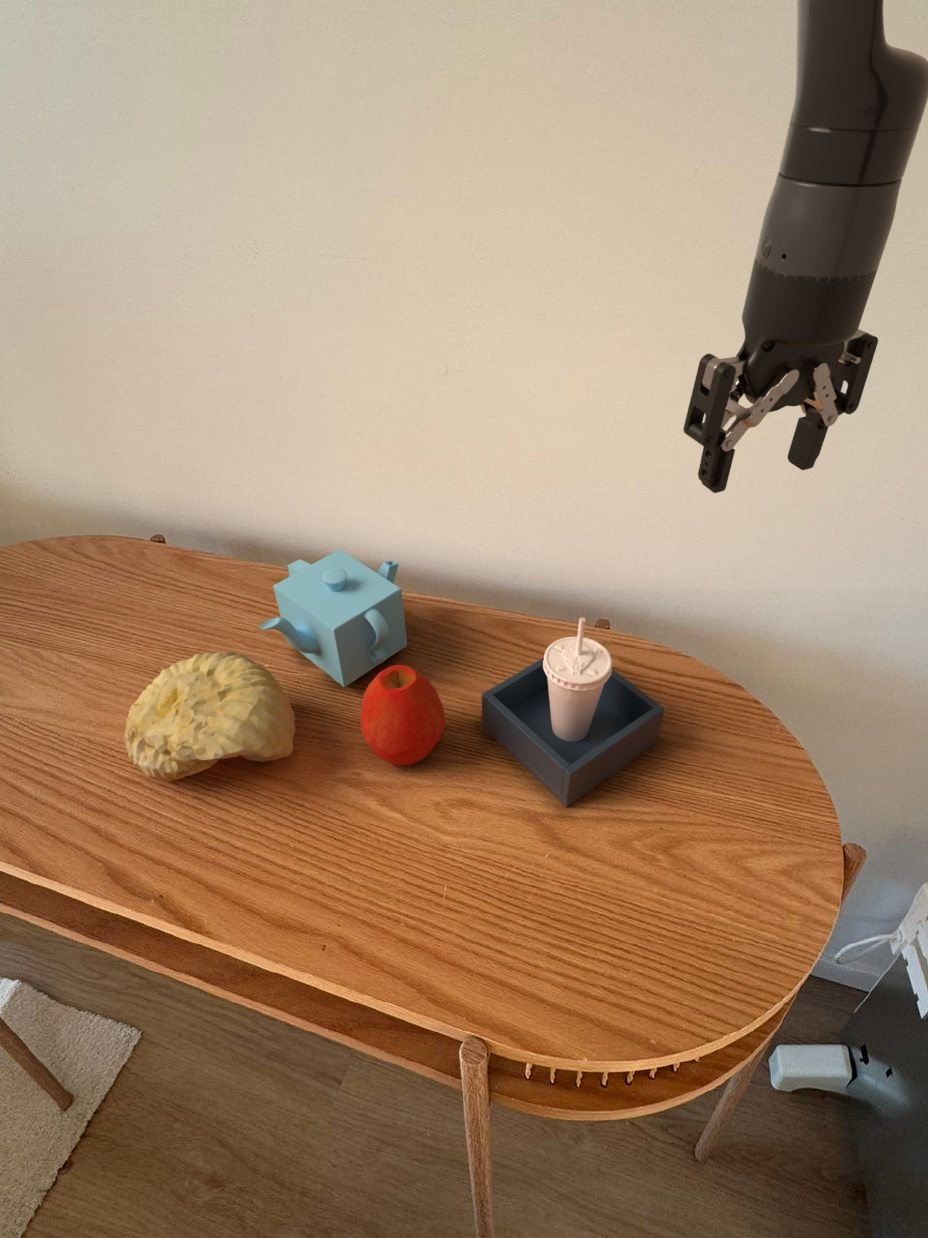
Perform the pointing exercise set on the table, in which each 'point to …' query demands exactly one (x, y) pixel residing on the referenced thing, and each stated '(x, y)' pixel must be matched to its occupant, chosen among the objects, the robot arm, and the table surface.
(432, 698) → the apple
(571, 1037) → the table surface
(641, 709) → the bin
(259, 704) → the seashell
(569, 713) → the smoothie
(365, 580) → the teapot
